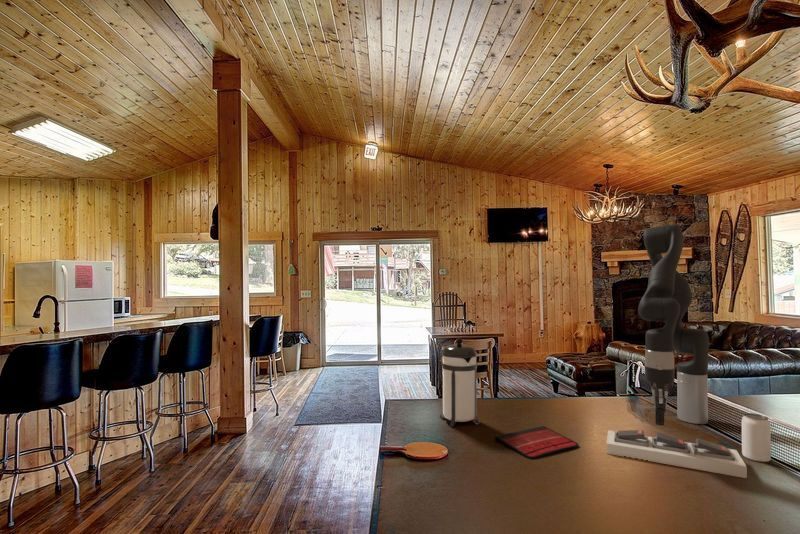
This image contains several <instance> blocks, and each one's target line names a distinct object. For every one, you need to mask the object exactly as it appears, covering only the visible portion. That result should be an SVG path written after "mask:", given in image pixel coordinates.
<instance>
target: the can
mask: <svg viewBox="0 0 800 534" xmlns="http://www.w3.org/2000/svg"><path fill="white" fill-rule="evenodd" d="M771 431H772V430H771V423H770V421H769V417H768V416H765V415H762V414H758V413H750V412H744V413H743V415H742V417H741V455H742V456H743V457H744V458H745V459H748V460H751V461H754V462H759V463H768V462H770V461H771V459H772V451H771V449H772V447H771V446H772V445H771V443H772V442H771V439H772V438H771Z"/></svg>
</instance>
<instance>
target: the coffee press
mask: <svg viewBox="0 0 800 534" xmlns="http://www.w3.org/2000/svg"><path fill="white" fill-rule="evenodd" d="M455 342H456V343H454V344H448V345H446V346H444V348H443V349H442V351H441V355H442V362H441V363H442V364H441V368H442V412H441V413H440V415H439V418H440V419H444V418H445V419H447V420H449V421H450V425H449V426H450V428H455V427H456V424H457V422H458V423H459V422H460V423H462V422H463V423H465V422H469V421H472V422H473V423H474V424H475V425H479V424H480V423H481V421H480V418H479V417H478V414H477V413H478V411H477V409H478V407H477V405H478V403H477V402H478V401H477V397H478V396H477V394H478V393H477V383H478V382H477V380H478V379H477V375H478V373H477V368H478V366H477V365H478V363H477V356H478V352H477V351H476V349H475V347H473V346H471V345H469V344H462V343H463V339H462V338H460V337H459V338H457V339H456V340H455ZM442 415H443V416H442ZM475 419H476V420H475Z"/></svg>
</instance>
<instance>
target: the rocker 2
mask: <svg viewBox="0 0 800 534" xmlns="http://www.w3.org/2000/svg"><path fill="white" fill-rule="evenodd" d="M655 438H656V441H659V442H662V443H665V444H668V445H671V446H674V447H677V448H680V449H685V447H686V446H685V443H684V442H685V440H682V439H679V438H678V437H677V438H676V437H673V436H670V435H667V434H664V433H661V432H658V431H655Z"/></svg>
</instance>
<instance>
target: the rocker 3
mask: <svg viewBox="0 0 800 534" xmlns="http://www.w3.org/2000/svg"><path fill="white" fill-rule="evenodd" d="M695 444H697V446H698V447H699V448H702V449H705V450H708V451H711V452H714V453H717V454H720V455H723V456H729V451H728V450H727V449H728V448H727V447H726V446H723V445H721V444H717V443H715V442H711V441H708V440H705V439H701V438H699V437H696V439H695Z"/></svg>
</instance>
